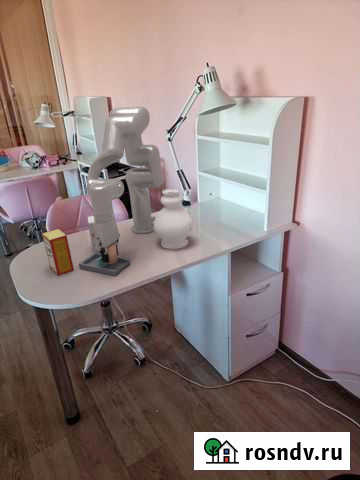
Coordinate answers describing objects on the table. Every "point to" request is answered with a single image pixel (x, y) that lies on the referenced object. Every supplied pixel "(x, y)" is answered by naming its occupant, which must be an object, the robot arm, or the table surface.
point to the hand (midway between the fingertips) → (110, 258)
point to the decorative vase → (172, 221)
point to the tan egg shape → (112, 253)
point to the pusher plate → (100, 262)
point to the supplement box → (90, 223)
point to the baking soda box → (58, 251)
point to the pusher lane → (109, 269)
